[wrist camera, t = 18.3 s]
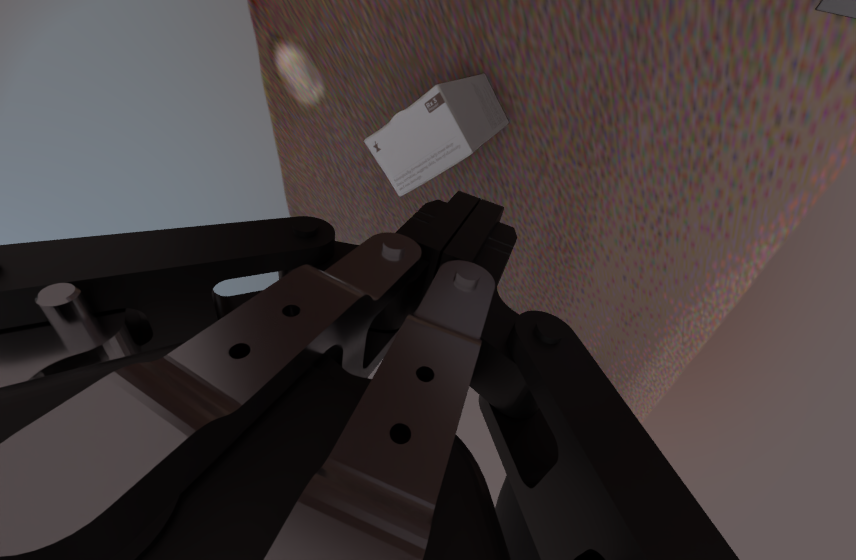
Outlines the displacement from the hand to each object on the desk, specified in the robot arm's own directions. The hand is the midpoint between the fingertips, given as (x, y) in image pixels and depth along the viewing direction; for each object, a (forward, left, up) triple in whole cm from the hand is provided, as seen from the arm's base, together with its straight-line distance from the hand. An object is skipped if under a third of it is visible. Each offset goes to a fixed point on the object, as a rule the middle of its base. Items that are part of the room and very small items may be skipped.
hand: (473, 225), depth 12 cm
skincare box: (-5, +9, -32) cm, 34 cm away
